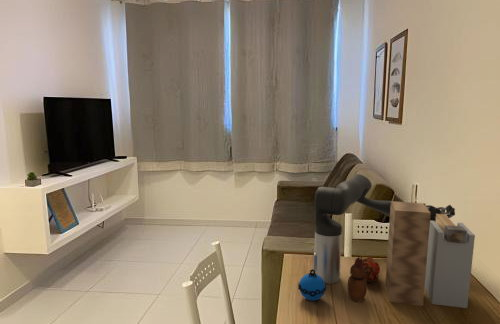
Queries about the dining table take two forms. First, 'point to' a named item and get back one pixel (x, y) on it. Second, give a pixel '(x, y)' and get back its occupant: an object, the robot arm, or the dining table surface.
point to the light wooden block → (451, 229)
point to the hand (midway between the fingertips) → (437, 206)
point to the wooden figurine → (357, 281)
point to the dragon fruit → (371, 269)
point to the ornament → (312, 286)
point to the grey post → (448, 268)
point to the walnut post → (407, 252)
